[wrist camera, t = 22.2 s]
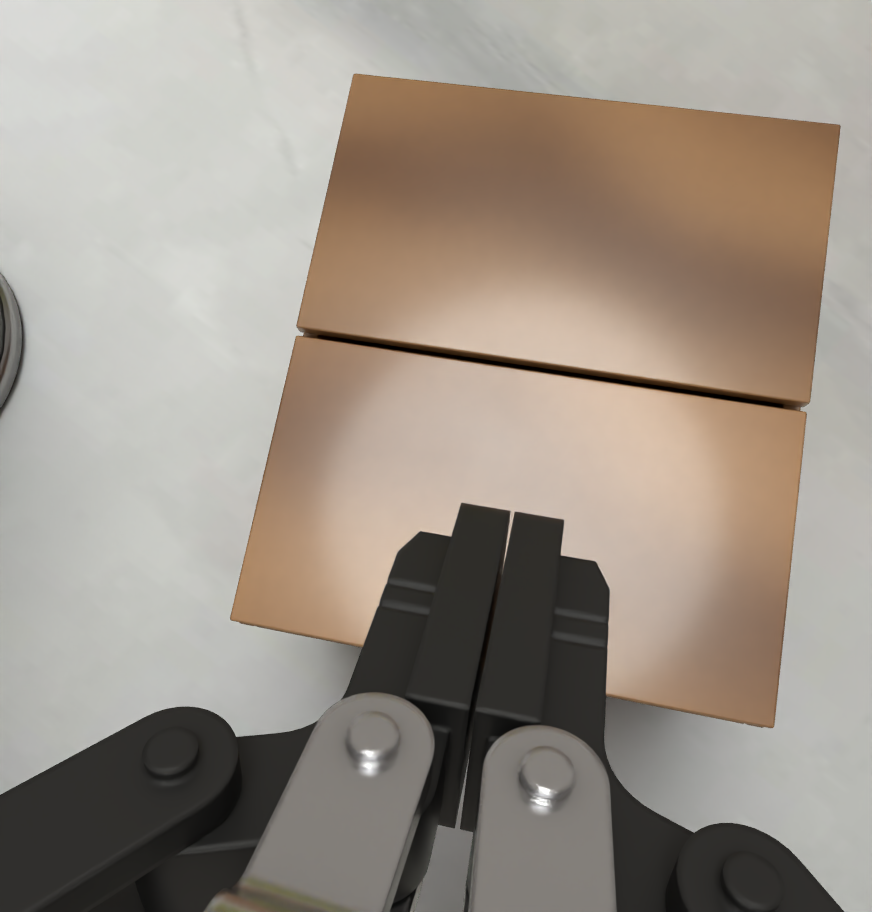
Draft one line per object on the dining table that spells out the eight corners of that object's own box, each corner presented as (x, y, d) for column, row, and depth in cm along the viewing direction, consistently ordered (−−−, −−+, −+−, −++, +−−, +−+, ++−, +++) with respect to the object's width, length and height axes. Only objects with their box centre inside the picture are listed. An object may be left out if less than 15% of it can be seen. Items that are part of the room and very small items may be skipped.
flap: (768, 727, 17) (774, 728, 17) (234, 620, 19) (228, 620, 18) (801, 416, 18) (807, 411, 18) (299, 340, 20) (295, 334, 20)
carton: (680, 690, 27) (776, 733, 17) (329, 621, 28) (225, 623, 18) (732, 292, 29) (844, 121, 19) (406, 248, 31) (351, 69, 21)
